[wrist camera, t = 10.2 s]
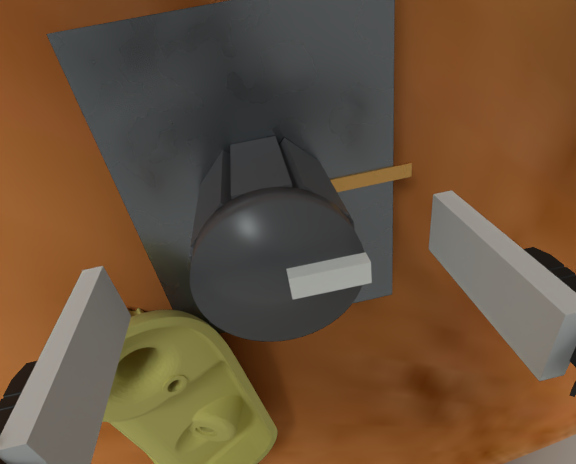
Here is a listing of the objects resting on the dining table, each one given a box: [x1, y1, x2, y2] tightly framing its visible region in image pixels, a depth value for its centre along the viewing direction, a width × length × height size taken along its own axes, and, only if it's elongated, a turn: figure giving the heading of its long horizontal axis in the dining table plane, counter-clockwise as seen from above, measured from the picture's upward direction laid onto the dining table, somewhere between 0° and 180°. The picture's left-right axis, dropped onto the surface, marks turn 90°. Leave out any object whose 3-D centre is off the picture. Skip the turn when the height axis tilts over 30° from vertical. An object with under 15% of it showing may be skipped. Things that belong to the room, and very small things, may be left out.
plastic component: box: [102, 308, 278, 464], centre depth 26 cm, size 20×7×10 cm
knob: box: [189, 136, 372, 342], centre depth 16 cm, size 7×7×7 cm
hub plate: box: [47, 0, 412, 334], centre depth 18 cm, size 18×15×6 cm
